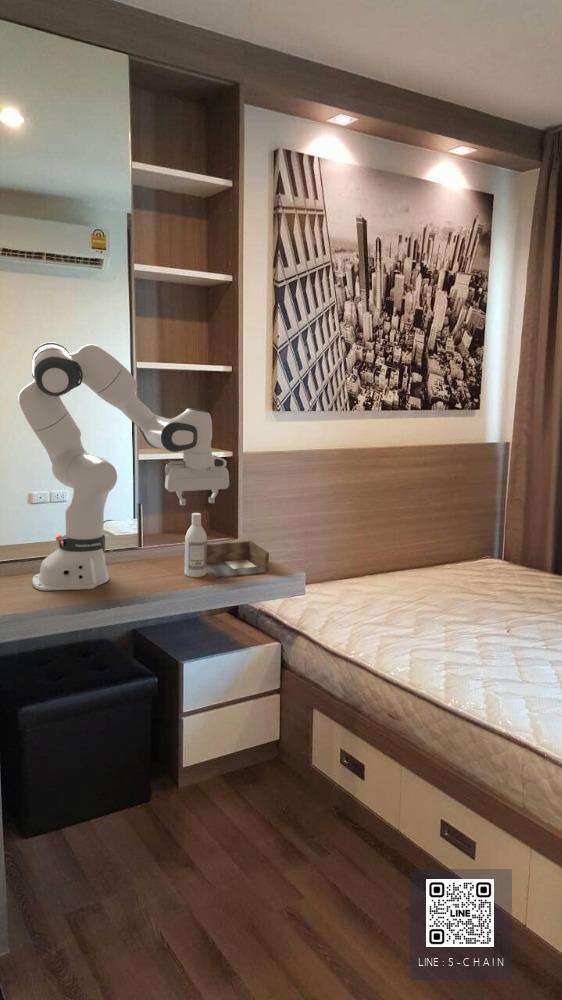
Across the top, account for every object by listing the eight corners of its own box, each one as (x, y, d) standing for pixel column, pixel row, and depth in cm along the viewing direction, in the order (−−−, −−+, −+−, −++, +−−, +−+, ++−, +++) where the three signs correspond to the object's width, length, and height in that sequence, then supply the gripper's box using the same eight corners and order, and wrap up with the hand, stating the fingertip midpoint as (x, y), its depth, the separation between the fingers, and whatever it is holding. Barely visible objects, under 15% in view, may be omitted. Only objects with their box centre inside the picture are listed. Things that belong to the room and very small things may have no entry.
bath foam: (210, 575, 231) (211, 514, 227) (191, 578, 227) (193, 517, 223) (198, 569, 236) (199, 510, 232) (180, 573, 232) (181, 512, 228)
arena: (216, 578, 228) (216, 557, 227) (200, 564, 242) (200, 544, 241) (268, 573, 236) (269, 553, 234) (249, 560, 250) (250, 540, 248)
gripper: (167, 463, 217) (167, 508, 220) (231, 461, 225) (230, 504, 228) (162, 460, 222) (162, 503, 225) (224, 457, 231) (223, 500, 234)
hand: (197, 503), depth 227 cm, fingers open, 8 cm apart
